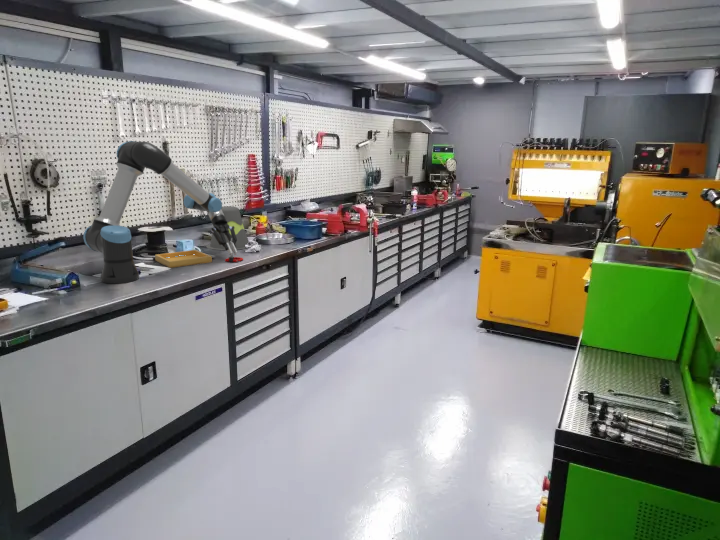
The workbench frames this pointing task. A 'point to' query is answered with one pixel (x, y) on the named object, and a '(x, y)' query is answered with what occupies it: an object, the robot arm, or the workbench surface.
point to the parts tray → (183, 258)
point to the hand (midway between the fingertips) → (233, 253)
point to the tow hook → (231, 258)
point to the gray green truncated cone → (232, 220)
